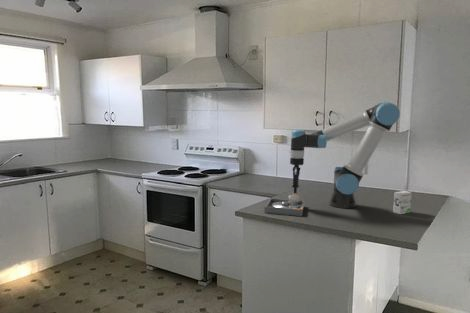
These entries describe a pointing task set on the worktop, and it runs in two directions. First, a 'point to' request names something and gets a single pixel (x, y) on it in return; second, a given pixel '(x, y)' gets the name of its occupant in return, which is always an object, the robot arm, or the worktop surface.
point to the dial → (290, 204)
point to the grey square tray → (284, 210)
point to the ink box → (402, 202)
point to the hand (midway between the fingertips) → (295, 198)
